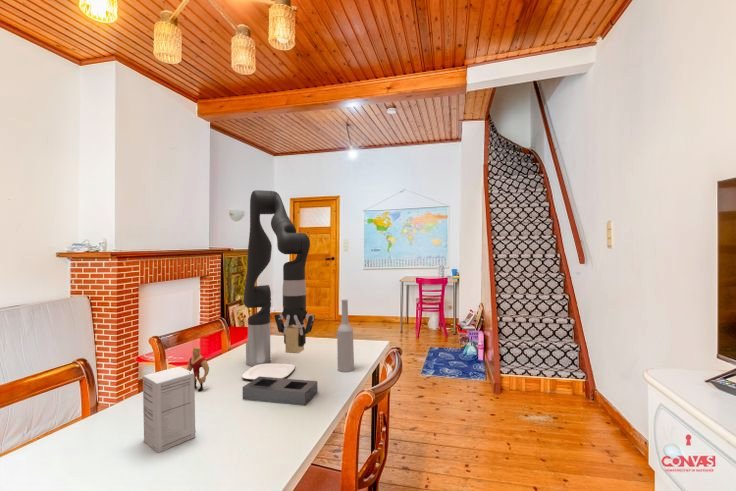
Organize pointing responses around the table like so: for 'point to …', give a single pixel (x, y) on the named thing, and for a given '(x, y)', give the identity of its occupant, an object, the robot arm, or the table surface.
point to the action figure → (198, 367)
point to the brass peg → (293, 340)
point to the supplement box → (168, 408)
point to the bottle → (345, 342)
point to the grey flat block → (280, 390)
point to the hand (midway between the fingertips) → (295, 345)
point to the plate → (268, 371)
